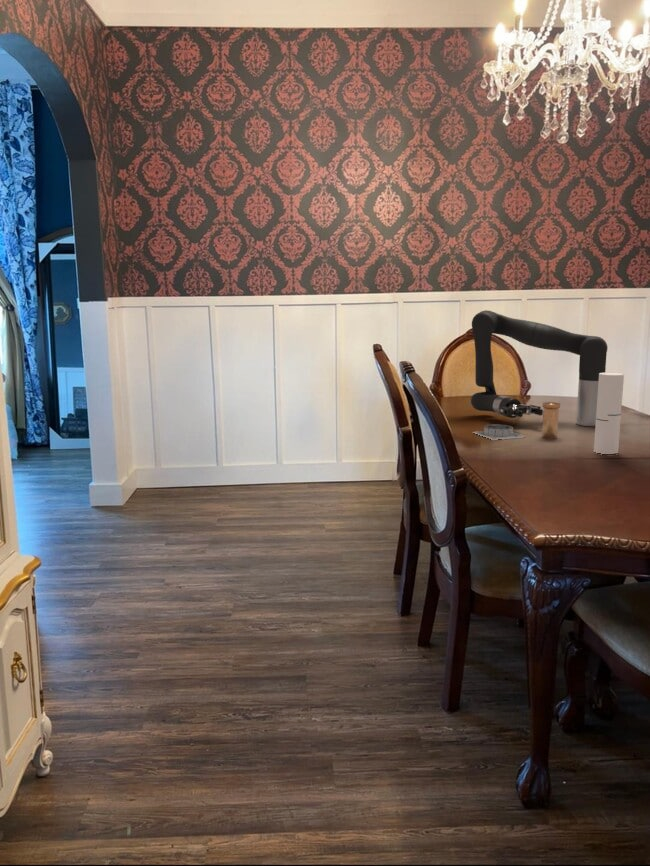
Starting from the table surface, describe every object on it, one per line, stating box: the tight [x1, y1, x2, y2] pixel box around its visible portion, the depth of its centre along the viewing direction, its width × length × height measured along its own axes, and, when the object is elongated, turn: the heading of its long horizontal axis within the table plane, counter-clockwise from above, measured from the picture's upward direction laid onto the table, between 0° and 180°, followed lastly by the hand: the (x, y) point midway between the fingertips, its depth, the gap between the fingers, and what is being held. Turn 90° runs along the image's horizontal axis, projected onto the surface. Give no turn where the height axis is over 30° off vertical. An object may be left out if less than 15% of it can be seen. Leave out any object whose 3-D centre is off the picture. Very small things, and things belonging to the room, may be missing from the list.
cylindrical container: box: [593, 372, 625, 455], centre depth 217 cm, size 7×7×25 cm
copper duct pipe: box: [541, 401, 561, 439], centre depth 242 cm, size 6×6×12 cm
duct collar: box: [472, 423, 526, 441], centre depth 247 cm, size 13×13×3 cm
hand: (531, 413), depth 252 cm, fingers open, 8 cm apart
